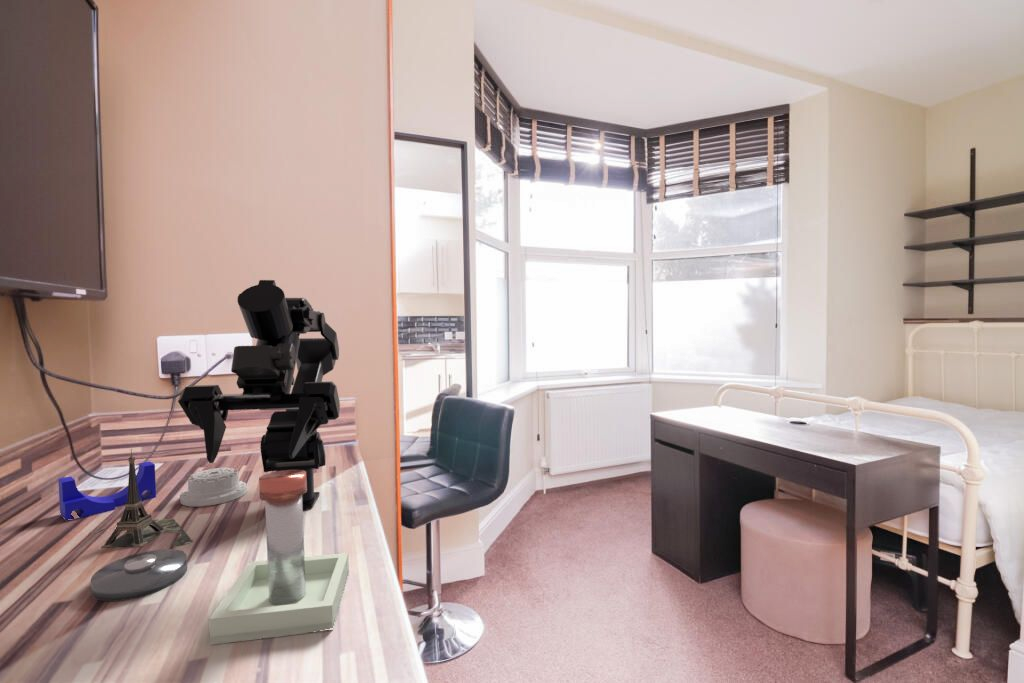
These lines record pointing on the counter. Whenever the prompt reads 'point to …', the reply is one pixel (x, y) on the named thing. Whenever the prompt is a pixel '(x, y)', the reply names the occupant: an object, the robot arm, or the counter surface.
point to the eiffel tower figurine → (140, 521)
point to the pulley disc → (138, 575)
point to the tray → (257, 618)
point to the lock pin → (284, 534)
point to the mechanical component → (213, 487)
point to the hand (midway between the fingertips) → (251, 459)
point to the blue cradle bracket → (94, 505)
